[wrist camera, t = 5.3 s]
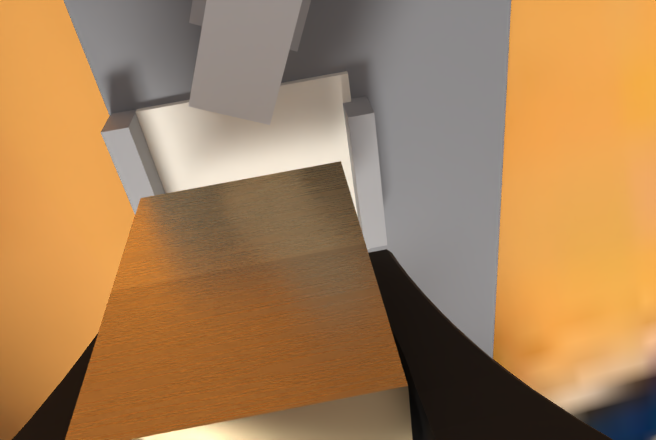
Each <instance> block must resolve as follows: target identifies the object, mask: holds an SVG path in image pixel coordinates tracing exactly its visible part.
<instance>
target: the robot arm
mask: <svg viewBox="0 0 656 440" xmlns="http://www.w3.org/2000/svg"><path fill="white" fill-rule="evenodd" d="M368 254H369V257H370V260H371V264H372V267H373V270H374V274H375V277H376V280H377V284H378V287H379V290H380V294H381V297H382V300H383V304H384V307H385V310H386V314H387V317H388V320H389V324H390V327H391V331H392V334H393V337H394V341H395V344H396V347H397V351H398V354H399V357H400V361H401V364H402V367H403V371H404V374H405V377H406V381H407V384H408V391H409V403H410V415H411V427H412V439H413V440H613V439H611V438H609V437H608V436H606V435H604V434H602V433H601V432H599V431H597V430H596V429H594V428H592V427H591V426H589V425H587V424H585V423H584V422H582V421H580V420H579V419H577V418H576V417H574V416H573V415H571V414H570V413H568V412H567V411H565V410H564V409H562V408H561V407H559V406H557V405H556V404H554V403H553V402H551V401H550V400H548V399H547V398H545V397H544V396H542V395H541V394H539V393H538V392H536V391H535V390H533V389H532V388H530V387H529V386H528V385H526V384H525V383H524V382H522V381H521V380H520V379H518V378H517V377H515V376H514V375H513V374H511V373H510V372H509V371H507V370H506V369H505V368H504V367H502V366H501V365H500V364H499V363H497V362H496V361H495V360H494V359H492V358H491V357H490V356H489V355H487V354H486V353H485V352H484V351H483V350H482V349H480V348H479V347H478V346H477V345H476V344H475V343H473V342H472V341H471V340H470V339H469V338H468V337H467V336H466V335H465V334H464V333H463V332H461V331H460V330H459V329H458V328H457V327H456V326H455V325H454V324H453V323H452V322H451V321H450V320H449V319H448V318H447V317H446V316H445V315H444V314H443V313H442V312H441V311H440V310H439V309H438V308H437V307H436V306H435V305H434V304H433V303H432V301H431V300H430V299H429V298H428V297H427V296H426V295H425V294H424V293H423V292H422V291H421V289H420V288H419V287H418V286H417V285H416V284H415V282H414V281H413V280H412V279H411V278H410V276H409V275H408V274H407V273H406V271H405V270H404V269H403V268H402V266H401V265H400V264H399V262H398V261H397V259H396V258H395V257H394V255H393V253H392V252H390V251H389V250H387V249H385V250H380V251H374V252H369V253H368ZM97 336H98V334H97V335H96V336H95V338H94V339H93V341H92V342H91V343H90V345H89V346H88V347H87V349H86V350H85V351H84V353H83V354H82V355H81V357H80V358H79V359H78V361H77V362H76V363H75V365H74V366H73V367H72V369H71V370H70V371H69V373H68V374H67V375H66V376H65V378H64V379H63V380H62V381H61V383H60V384H59V385H58V386H57V387H56V389H55V390H54V391H53V392H52V394H51V395H50V396H49V397H48V398H47V400H46V401H45V402H44V403H43V404H42V406H41V407H40V408H39V409H38V411H37V412H36V413H35V414H34V415H33V417H32V418H31V419H30V420H29V421H28V422H27V424H26V425H25V426H24V427H23V428H22V429H21V430H20V431H19V432H18V434H17V435H16V436H15V437H14V438H13V439H12V440H65V438H66V435H67V432H68V428H69V425H70V422H71V419H72V416H73V412H74V409H75V406H76V403H77V400H78V396H79V393H80V390H81V387H82V384H83V380H84V377H85V374H86V371H87V368H88V364H89V361H90V358H91V355H92V352H93V348H94V345H95V342H96V339H97Z"/></svg>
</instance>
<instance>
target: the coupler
mask: <svg viewBox="0 0 656 440" xmlns="http://www.w3.org/2000/svg"><path fill="white" fill-rule="evenodd" d="M65 440H413V439H412V427H411V415H410V403H409V391H408V384H407V381H406V377H405V374H404V371H403V367H402V364H401V361H400V357H399V354H398V351H397V347H396V344H395V341H394V337H393V334H392V331H391V327H390V324H389V320H388V317H387V314H386V310H385V307H384V304H383V300H382V297H381V294H380V290H379V287H378V284H377V280H376V277H375V274H374V270H373V267H372V264H371V260H370V257H369V254H368V250H367V247H366V244H365V240H364V237H363V234H362V230H361V227H360V223H359V220H358V217H357V213H356V210H355V207H354V203H353V200H352V197H351V193H350V190H349V187H348V183H347V180H346V177H345V173H344V170H343V167H342V163H341V161H339V162H334V163H328V164H323V165H318V166H312V167H307V168H301V169H296V170H290V171H285V172H280V173H274V174H269V175H263V176H258V177H252V178H247V179H242V180H236V181H231V182H225V183H220V184H214V185H209V186H204V187H198V188H193V189H187V190H182V191H176V192H171V193H165V194H160V195H155V196H149V197H144V198H140V201H139V205H138V208H137V211H136V214H135V217H134V221H133V224H132V227H131V230H130V233H129V237H128V240H127V243H126V246H125V249H124V253H123V256H122V259H121V262H120V265H119V269H118V272H117V275H116V278H115V281H114V285H113V288H112V291H111V294H110V297H109V301H108V304H107V307H106V310H105V313H104V316H103V320H102V323H101V326H100V329H99V332H98V336H97V339H96V342H95V345H94V348H93V352H92V355H91V358H90V361H89V364H88V368H87V371H86V374H85V377H84V380H83V384H82V387H81V390H80V393H79V396H78V400H77V403H76V406H75V409H74V412H73V416H72V419H71V422H70V425H69V428H68V432H67V435H66V438H65Z"/></svg>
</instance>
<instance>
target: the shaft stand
mask: <svg viewBox="0 0 656 440" xmlns="http://www.w3.org/2000/svg"><path fill="white" fill-rule="evenodd" d="M64 3H65V5H66V8H67V10H68V13H69V15H70V18H71V20H72V23H73V25H74V28H75V30H76V33H77V35H78V38H79V40H80V43H81V45H82V48H83V50H84V53H85V55H86V58H87V60H88V63H89V65H90V68H91V70H92V73H93V75H94V78H95V80H96V83H97V85H98V88H99V90H100V93H101V95H102V98H103V100H104V103H105V105H106V108H107V110H108V113H109V115H110V116H109V118H108V120H107V122H106V124H105V126H104V127H103V129H102V131H101V134H102V137H103V139H104V141H105V144H106V146H107V149H108V151H109V153H110V156H111V158H112V161H113V163H114V165H115V168H116V170H117V172H118V175H119V177H120V180H121V182H122V184H123V187H124V189H125V192H126V194H127V196H128V199H129V201H130V203H131V206H132V208H133V211H134V213H135V214H136V211H137V208H138V205H139V201H140V198H144V197H149V196H155V195H160V194H165V193H171V192H176V191H182V190H187V189H193V188H198V187H204V186H209V185H214V184H220V183H225V182H231V181H236V180H242V179H247V178H252V177H258V176H263V175H269V174H274V173H280V172H285V171H290V170H296V169H301V168H307V167H312V166H318V165H323V164H328V163H334V162H339V161H341V163H342V167H343V170H344V173H345V177H346V180H347V183H348V187H349V190H350V193H351V197H352V200H353V203H354V207H355V210H356V213H357V217H358V220H359V223H360V227H361V230H362V234H363V237H364V240H365V244H366V247H367V250H368V253H369V252H374V251H380V250H385V249H387V250H389V251H390V252H392V253H393V255H394V257H395V258H396V259H397V261H398V262H399V264H400V265H401V266H402V268H403V269H404V270H405V271H406V273H407V274H408V275H409V276H410V278H411V279H412V280H413V281H414V282H415V284H416V285H417V286H418V287H419V288H420V289H421V291H422V292H423V293H424V294H425V295H426V296H427V297H428V298H429V299H430V300H431V301H432V303H433V304H434V305H435V306H436V307H437V308H438V309H439V310H440V311H441V312H442V313H443V314H444V315H445V316H446V317H447V318H448V319H449V320H450V321H451V322H452V323H453V324H454V325H455V326H456V327H457V328H458V329H459V330H460V331H461V332H463V333H464V334H465V335H466V336H467V337H468V338H469V339H470V340H471V341H472V342H473V343H475V344H476V345H477V346H478V347H479V348H480V349H482V350H483V351H484V352H485V353H486V354H487V355H489V356H490V357H491V358H492V359H493V344H494V324H495V305H496V285H497V266H498V246H499V227H500V207H501V187H502V168H503V148H504V129H505V109H506V90H507V70H508V51H509V31H510V12H511V0H64Z"/></svg>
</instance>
